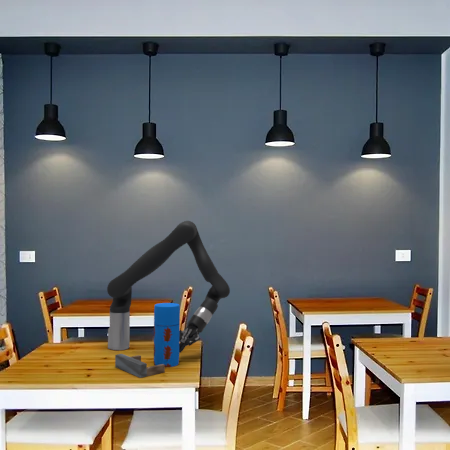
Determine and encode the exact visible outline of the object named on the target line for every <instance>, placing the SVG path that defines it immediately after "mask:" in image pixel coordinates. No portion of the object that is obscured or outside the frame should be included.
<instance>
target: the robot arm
mask: <svg viewBox="0 0 450 450" xmlns="http://www.w3.org/2000/svg"><path fill="white" fill-rule="evenodd" d="M169 233H170V234H168V235H167V236H166V237H165V238H164V239H162V240H161V241H159V242H158V243H156V244H155V245H153V246H152V247H150V248H149V249H148V250H147V251H145V252H144V253H143V254H142V255H141V256H139V258H138V259H136V260H135V261H134V262H132V264H131V265H130V266H129V267H128V268H127V269H126V270H124V271H123V272H122V273H120V274H119V275H118V276H116V277H115V278H113V279H112V280H111V281H109V282H108V284H107V287H106V290H107V291H106V292H107V294H108V296H109V297H111V298H112V303H111V304H110V306H109V328H107V349H108V350H114V351H123V350H125V351H126V350H128V349H130V335H131V334H130V330H131V329H130V328H131V327H130V324H131V323H130V321H131V320H130V316H131V312H130V311H131V309H130V308H131V305H132V295H133V294H132V293H133V286H134V285H135V284H136V283H137V282H139V281H140V280H143V279H144V278H146V277H148V276H149V275H151V274H152V273H154V272H155V271H156V270H158V269H159V268H160V267H161V266H163V265H164V263H166V261H168V259H169V258H170V257H171V256H172V255H173V254H174V253H175V252H176V251H177V250H178V249H180V248H181V247H182V246H184V245H186V244H187V245H188V247H189V249H190V250H191V252H192V255H193V257H194V260H195V263H196V265H197V268H198V271H199V273H200V274H201V275H202V277H203V279H204V280H205V282H206V283H210V285H211V287H210V288H209V290H208V291H207V293H206V296H205V298H204V300H203V301H202V302H201V303H200V306H199V307H198V308H197V309H196V310H195V312H194V313H193V314H192V316H191V317H190V319H189V320H188V322H187V326H186V327H185V328H184V330H181V329H180V335H179V354H181V353H182V352H183V351H184V349H185V348H186V347H190V346H192V345H193V344H195V343H196V342H198V341H200V340H201V338H200V336H199V335H200V333H202V332H203V331H204V329H206V326H207V325H208V324H209V323H210V321H211V319H212V317H213V315H214V314H215V312H216V311H217V309H218V307H219V305H218V303H219V301H220V300H221V299H225V298H226V299H227V298H228V297H229V295H230V292H231V289H230V285H229V284H228V282H227V281H226V279H225V278H224V277H223V275H221V274H220V273H219V272H218V270H217V267H216V266H215V264H214V263H213V261H212V259H211V256H210V255H209V253H208V251H207V250H206V248H205V245H204V243H203V241H202V238H201V237H200V233H199V231H198V228H197V225H196V224H195V223H194V222H193V221H191V220H184V221H182V222H180V223H179V224H177V226H176V227H175V228H174V229H173V230H172V231H171V232H169Z"/></svg>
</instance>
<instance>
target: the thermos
mask: <svg viewBox="0 0 450 450" xmlns="http://www.w3.org/2000/svg"><path fill="white" fill-rule="evenodd" d="M180 307H181V306H180V304H179V303H173V302H162V303H161V302H160V303H156V304H154V309H153V364H154V365H153V366H156V365H160V364H164V365H165V368H173V367H177V366H178V365H180V364H179V363H180V353H179V344H180V341H179V335H180V330H181V329H180V327H181V323H180V321H181V320H180V318H181V316H180V313H181V308H180Z"/></svg>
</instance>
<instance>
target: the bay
mask: <svg viewBox="0 0 450 450" xmlns="http://www.w3.org/2000/svg"><path fill="white" fill-rule="evenodd" d="M114 357H115V358H114V360H115V361H114V365H115V366H114V367H115V368H116V369H119V370H121V371H123V372H126V373H128V374H131V375H133V376H135V377H137V378H138V379H139V378H145V377H149V376H154V375H159V374H163V373H166V372H165V370H166V367H165V365H164V364H160V365H156V366H155V365H152V366H148V365H147V364H148V363H147V362H144V361H142V355H140V354H138V355H133V356H129V355H126V354H124V353H118V354H115V355H114ZM147 366H148V367H147Z"/></svg>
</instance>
